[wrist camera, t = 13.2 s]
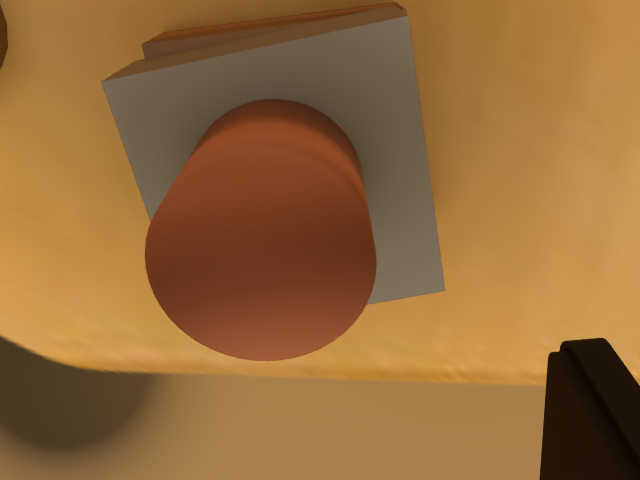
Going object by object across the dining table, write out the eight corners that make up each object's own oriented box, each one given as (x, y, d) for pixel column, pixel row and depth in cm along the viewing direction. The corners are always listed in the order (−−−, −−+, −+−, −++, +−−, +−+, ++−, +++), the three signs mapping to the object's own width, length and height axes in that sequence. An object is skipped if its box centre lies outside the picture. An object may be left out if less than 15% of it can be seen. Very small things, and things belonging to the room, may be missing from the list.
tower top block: (134, 61, 23) (101, 81, 20) (394, 4, 23) (407, 15, 19) (207, 284, 28) (190, 335, 24) (428, 244, 27) (445, 290, 23)
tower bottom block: (165, 31, 27) (141, 44, 23) (394, 1, 26) (406, 10, 23) (211, 237, 31) (196, 275, 27) (408, 215, 31) (420, 250, 27)
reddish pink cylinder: (171, 112, 20) (116, 173, 15) (351, 86, 20) (362, 139, 14) (210, 270, 23) (176, 372, 17) (371, 250, 22) (387, 347, 17)
